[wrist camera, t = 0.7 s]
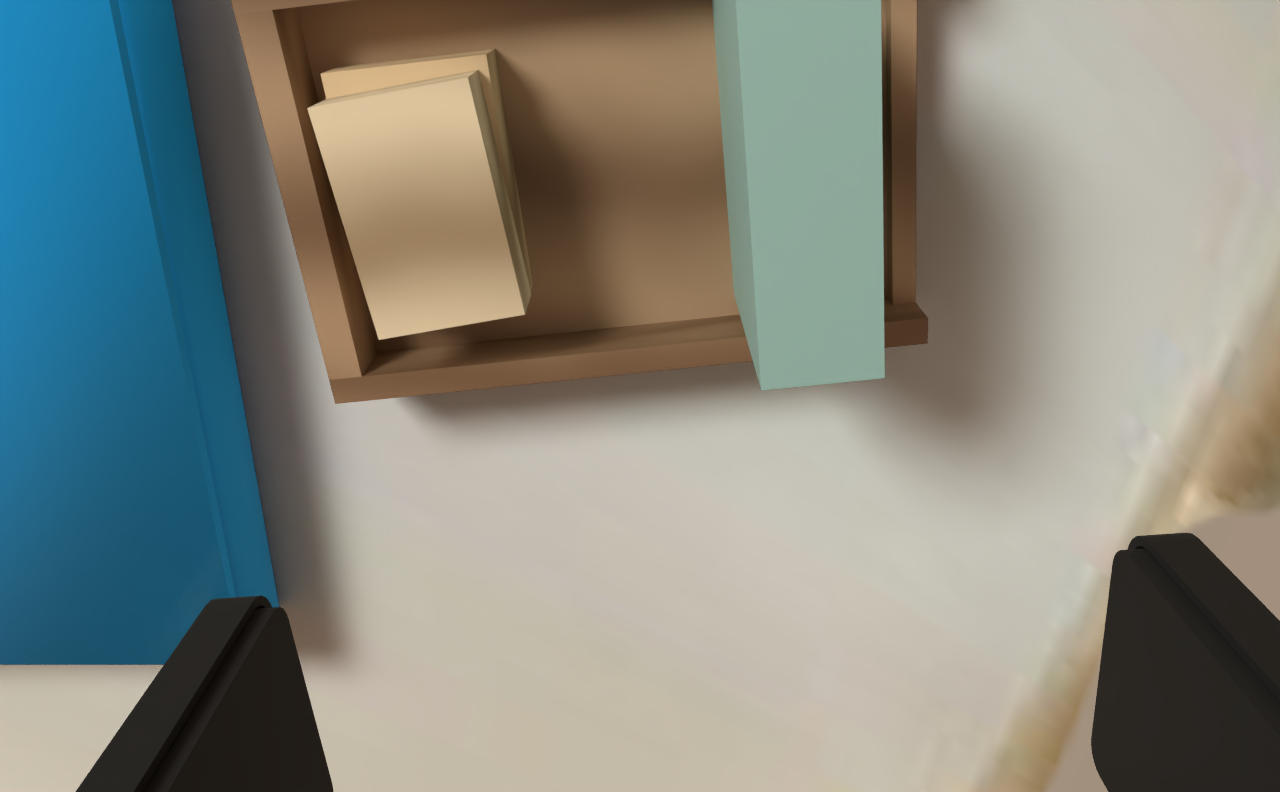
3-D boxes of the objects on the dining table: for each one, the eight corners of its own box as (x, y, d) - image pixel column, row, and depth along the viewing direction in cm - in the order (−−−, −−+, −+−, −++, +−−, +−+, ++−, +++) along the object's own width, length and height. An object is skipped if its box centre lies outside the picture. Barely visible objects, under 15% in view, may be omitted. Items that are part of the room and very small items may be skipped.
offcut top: (327, 98, 27) (306, 108, 25) (478, 69, 27) (468, 77, 25) (392, 318, 29) (378, 340, 28) (531, 294, 29) (525, 314, 27)
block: (711, -16, 27) (735, -5, 21) (819, -29, 27) (880, -23, 20) (733, 293, 31) (761, 390, 24) (829, 283, 31) (884, 378, 24)
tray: (268, -22, 28) (225, -19, 25) (900, -99, 28) (931, -104, 25) (361, 363, 33) (335, 403, 30) (901, 308, 32) (927, 343, 30)
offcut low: (338, 66, 28) (320, 73, 27) (495, 48, 28) (486, 54, 26) (391, 299, 31) (377, 318, 29) (532, 284, 31) (527, 302, 29)
